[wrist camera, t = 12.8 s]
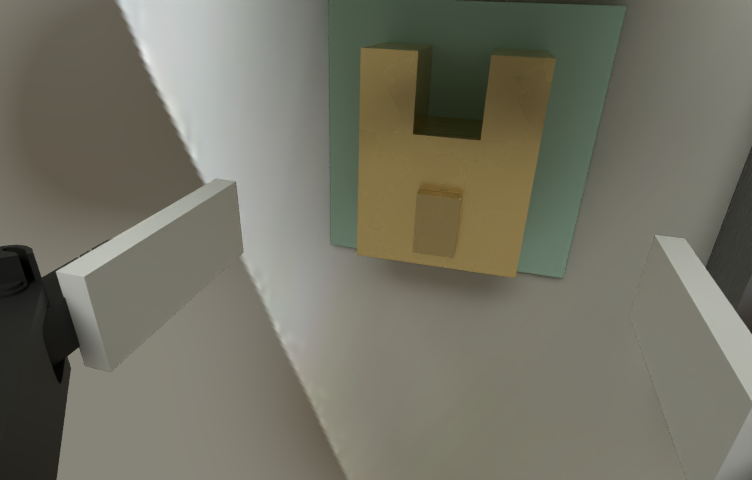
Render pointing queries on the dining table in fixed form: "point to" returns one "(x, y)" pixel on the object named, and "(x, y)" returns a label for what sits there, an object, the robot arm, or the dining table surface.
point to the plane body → (736, 250)
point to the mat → (482, 96)
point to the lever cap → (448, 161)
